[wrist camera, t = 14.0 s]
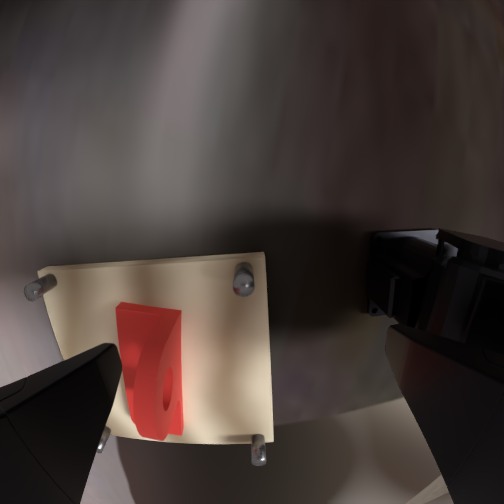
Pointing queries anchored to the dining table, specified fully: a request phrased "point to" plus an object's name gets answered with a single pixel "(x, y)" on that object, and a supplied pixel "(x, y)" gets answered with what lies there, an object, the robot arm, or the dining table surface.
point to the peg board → (192, 337)
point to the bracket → (152, 368)
